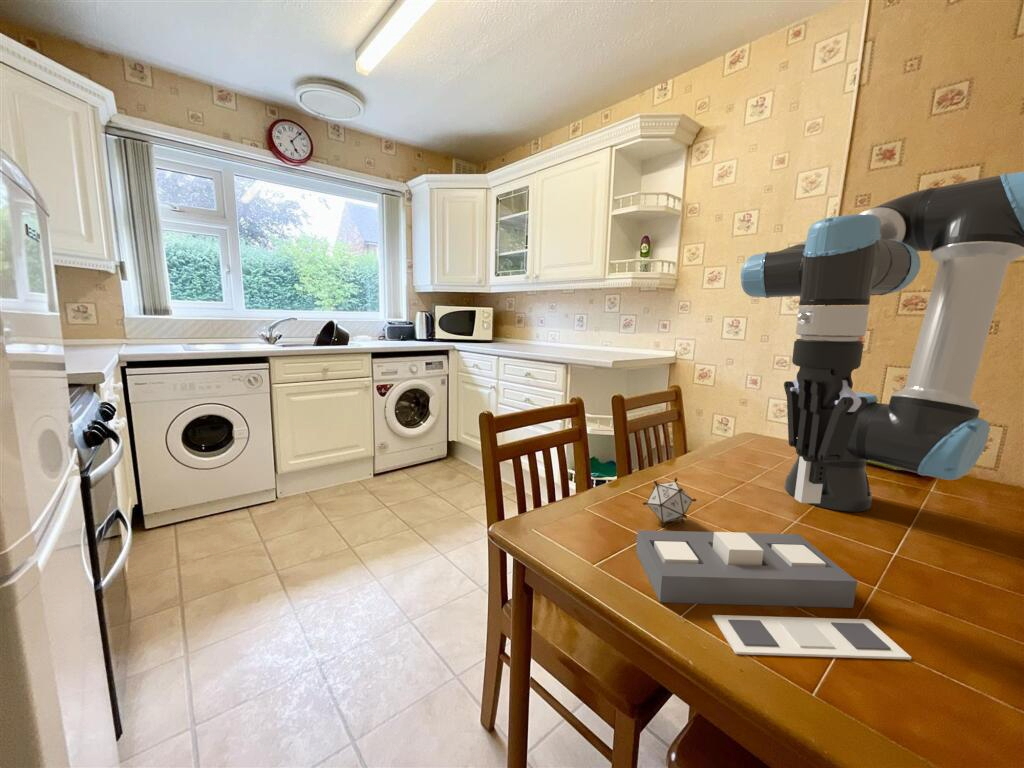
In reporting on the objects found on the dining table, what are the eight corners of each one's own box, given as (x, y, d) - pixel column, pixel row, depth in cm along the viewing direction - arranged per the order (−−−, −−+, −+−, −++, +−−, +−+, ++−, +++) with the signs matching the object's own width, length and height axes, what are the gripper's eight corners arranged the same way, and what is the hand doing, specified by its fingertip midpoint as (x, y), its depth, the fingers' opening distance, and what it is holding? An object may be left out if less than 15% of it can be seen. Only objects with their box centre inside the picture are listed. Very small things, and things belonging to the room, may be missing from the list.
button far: (683, 559, 65) (685, 541, 64) (696, 579, 60) (698, 560, 59) (653, 558, 65) (654, 541, 64) (663, 578, 60) (664, 559, 59)
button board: (795, 556, 68) (798, 534, 67) (852, 607, 56) (857, 581, 55) (635, 552, 68) (637, 530, 68) (659, 602, 57) (662, 575, 56)
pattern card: (868, 621, 54) (868, 618, 54) (911, 659, 48) (911, 655, 48) (712, 616, 54) (712, 613, 54) (735, 654, 48) (736, 650, 48)
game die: (676, 543, 78) (704, 519, 71) (633, 523, 79) (656, 498, 72) (679, 504, 85) (705, 479, 78) (640, 487, 86) (662, 460, 79)
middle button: (743, 550, 64) (745, 532, 64) (761, 569, 59) (763, 550, 59) (712, 549, 64) (714, 531, 64) (727, 568, 59) (729, 549, 59)
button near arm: (800, 562, 64) (803, 544, 64) (823, 582, 60) (826, 563, 59) (769, 561, 64) (771, 544, 64) (789, 581, 60) (791, 562, 59)
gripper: (771, 335, 63) (756, 482, 67) (835, 342, 50) (811, 523, 54) (822, 335, 62) (803, 482, 67) (899, 341, 50) (870, 523, 54)
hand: (807, 500), depth 60 cm, fingers closed
